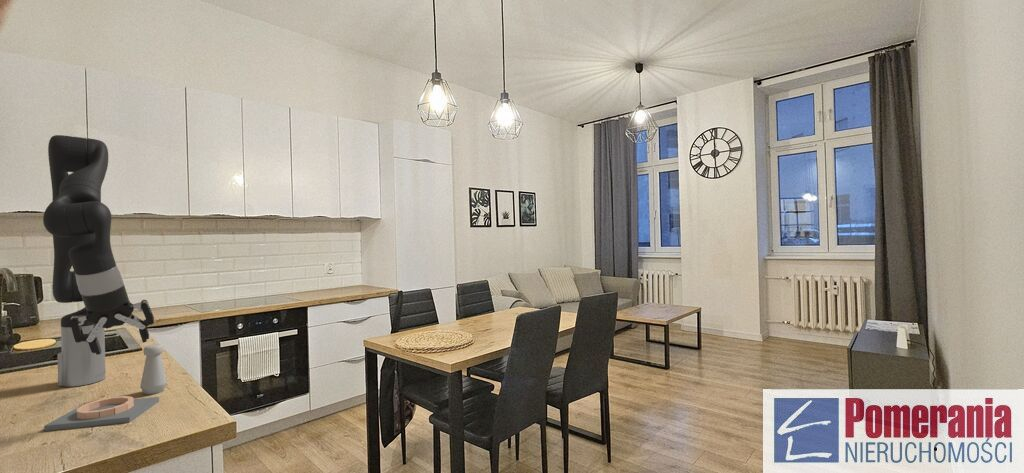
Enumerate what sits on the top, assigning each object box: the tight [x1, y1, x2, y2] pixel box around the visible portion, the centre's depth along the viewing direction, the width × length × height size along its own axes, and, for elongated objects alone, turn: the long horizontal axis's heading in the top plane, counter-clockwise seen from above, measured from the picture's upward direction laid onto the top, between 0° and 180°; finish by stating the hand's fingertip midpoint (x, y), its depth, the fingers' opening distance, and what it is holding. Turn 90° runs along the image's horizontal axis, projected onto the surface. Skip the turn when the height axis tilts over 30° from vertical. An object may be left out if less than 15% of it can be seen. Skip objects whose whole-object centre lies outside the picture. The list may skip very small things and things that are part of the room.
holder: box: [43, 395, 160, 432], centre depth 106 cm, size 16×13×3 cm
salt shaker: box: [140, 343, 168, 395], centre depth 121 cm, size 6×6×13 cm
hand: (122, 346), depth 106 cm, fingers open, 8 cm apart
